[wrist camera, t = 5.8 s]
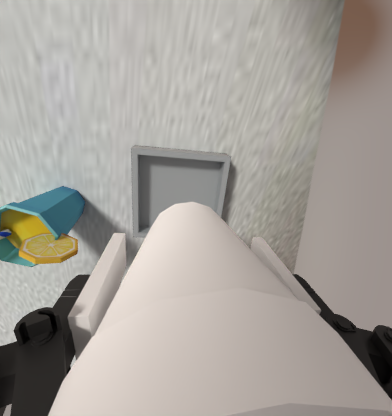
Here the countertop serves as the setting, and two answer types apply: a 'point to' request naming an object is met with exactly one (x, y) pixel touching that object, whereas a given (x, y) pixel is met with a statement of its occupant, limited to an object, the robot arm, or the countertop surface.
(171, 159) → the tray
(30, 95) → the countertop surface
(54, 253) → the cup
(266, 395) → the foam cup
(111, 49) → the countertop surface
